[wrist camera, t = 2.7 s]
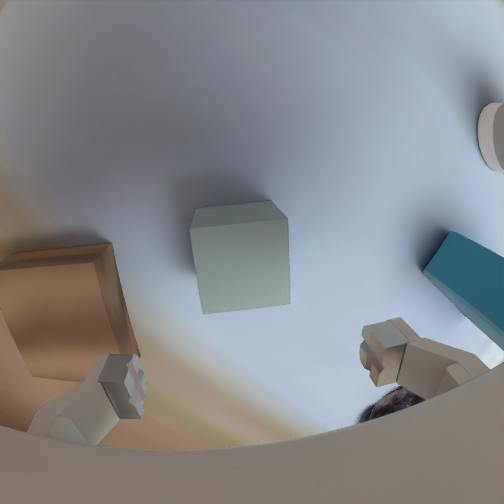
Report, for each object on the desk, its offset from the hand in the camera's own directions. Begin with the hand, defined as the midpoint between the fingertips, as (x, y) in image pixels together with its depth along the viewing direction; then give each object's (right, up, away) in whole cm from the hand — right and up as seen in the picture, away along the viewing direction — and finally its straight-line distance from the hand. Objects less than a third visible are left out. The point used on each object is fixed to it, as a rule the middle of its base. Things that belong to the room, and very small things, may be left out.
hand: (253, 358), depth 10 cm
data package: (+20, +1, +14) cm, 25 cm away
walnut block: (-15, -1, +11) cm, 19 cm away
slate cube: (-1, +5, +11) cm, 12 cm away
